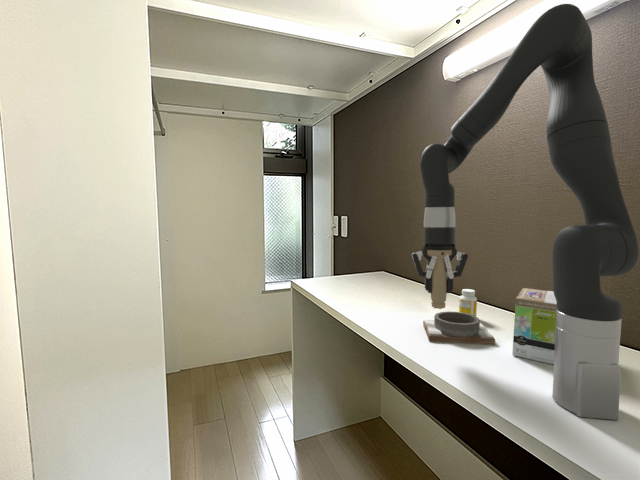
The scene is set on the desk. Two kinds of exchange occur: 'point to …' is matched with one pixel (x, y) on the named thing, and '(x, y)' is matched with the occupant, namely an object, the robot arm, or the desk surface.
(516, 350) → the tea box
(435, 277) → the handle
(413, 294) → the desk surface
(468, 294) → the supplement bottle
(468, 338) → the ring socket base
